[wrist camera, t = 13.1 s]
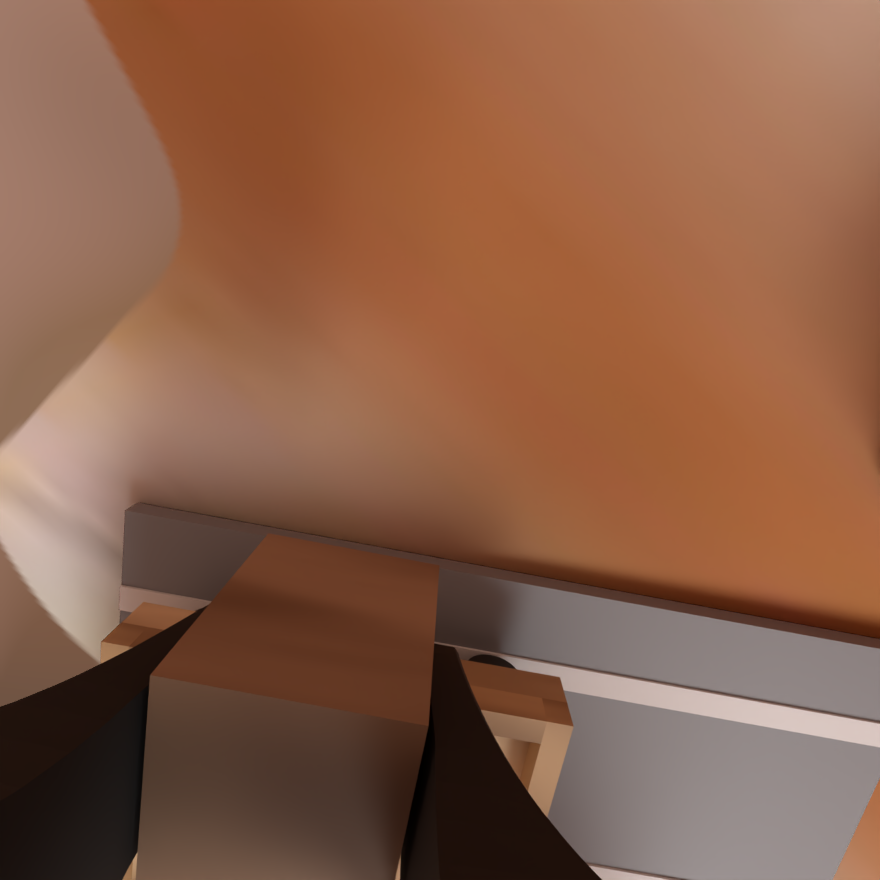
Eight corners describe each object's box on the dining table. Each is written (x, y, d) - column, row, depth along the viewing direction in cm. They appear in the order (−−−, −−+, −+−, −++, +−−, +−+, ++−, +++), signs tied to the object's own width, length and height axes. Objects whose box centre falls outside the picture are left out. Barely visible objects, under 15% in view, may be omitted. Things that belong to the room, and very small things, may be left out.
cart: (484, 888, 23) (490, 1013, 19) (154, 830, 23) (89, 944, 19) (550, 641, 20) (573, 726, 16) (174, 572, 20) (101, 641, 16)
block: (409, 710, 14) (383, 934, 9) (250, 681, 14) (134, 890, 9) (439, 565, 13) (428, 726, 8) (268, 533, 13) (150, 675, 8)
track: (778, 952, 25) (790, 975, 24) (119, 837, 24) (107, 857, 23) (917, 646, 21) (937, 660, 20) (137, 502, 20) (123, 511, 20)
